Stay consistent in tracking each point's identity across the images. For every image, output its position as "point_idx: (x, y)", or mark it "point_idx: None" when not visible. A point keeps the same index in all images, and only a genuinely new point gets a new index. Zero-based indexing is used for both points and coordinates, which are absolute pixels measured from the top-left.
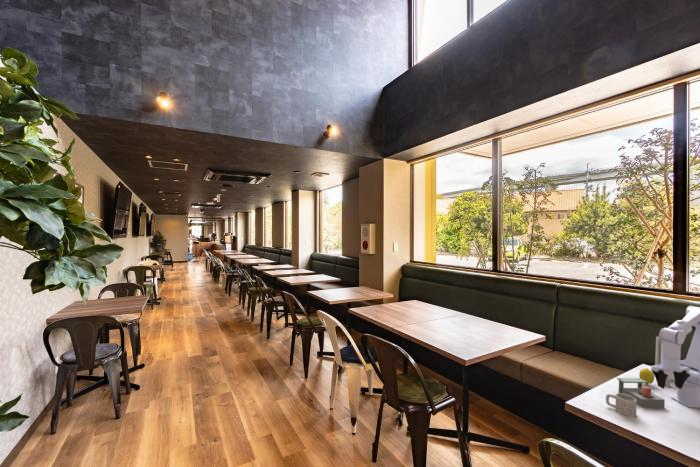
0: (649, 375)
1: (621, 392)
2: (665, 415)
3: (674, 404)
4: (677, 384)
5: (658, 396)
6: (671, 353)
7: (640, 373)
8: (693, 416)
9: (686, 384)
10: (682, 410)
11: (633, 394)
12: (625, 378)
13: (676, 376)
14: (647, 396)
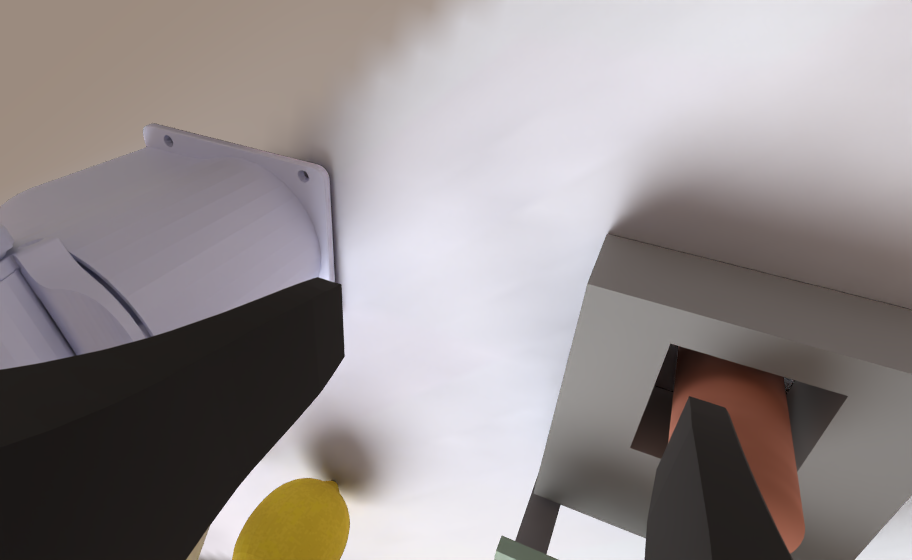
0: (285, 546)
1: None
2: (876, 83)
3: (415, 246)
4: (306, 363)
5: (575, 352)
6: None
7: None
8: (465, 5)
9: (132, 332)
10: (455, 141)
11: (904, 500)
12: None
13: (185, 509)
14: (775, 403)
